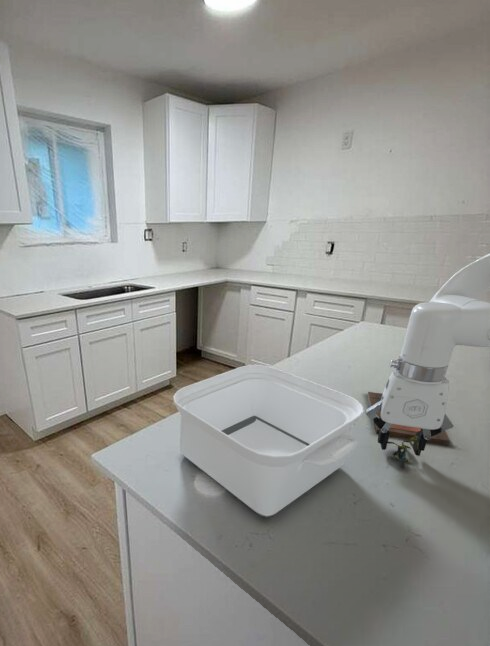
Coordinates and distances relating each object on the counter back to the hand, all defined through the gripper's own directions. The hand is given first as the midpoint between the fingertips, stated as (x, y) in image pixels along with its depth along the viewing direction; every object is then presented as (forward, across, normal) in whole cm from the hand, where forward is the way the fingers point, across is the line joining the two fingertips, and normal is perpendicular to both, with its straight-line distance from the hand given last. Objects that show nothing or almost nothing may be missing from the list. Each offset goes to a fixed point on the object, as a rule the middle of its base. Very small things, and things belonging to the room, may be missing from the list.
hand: (399, 448), depth 75 cm
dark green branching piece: (+2, 0, 0) cm, 2 cm away
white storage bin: (+2, -27, -12) cm, 29 cm away
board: (+2, +4, +18) cm, 19 cm away
